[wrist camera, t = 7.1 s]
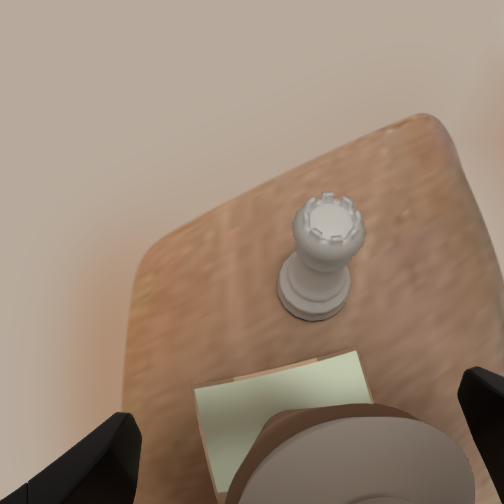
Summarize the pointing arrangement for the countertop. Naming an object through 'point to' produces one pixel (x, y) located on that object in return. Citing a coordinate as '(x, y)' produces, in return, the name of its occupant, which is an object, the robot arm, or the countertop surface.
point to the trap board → (269, 405)
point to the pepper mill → (352, 460)
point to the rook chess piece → (321, 257)
